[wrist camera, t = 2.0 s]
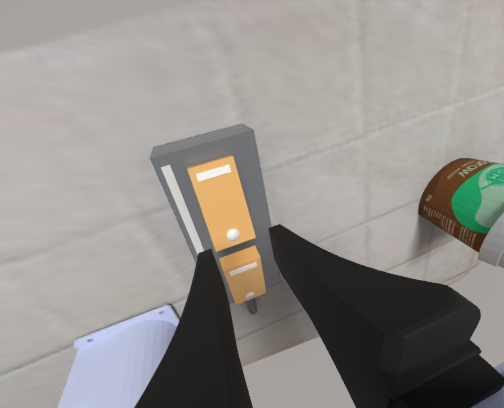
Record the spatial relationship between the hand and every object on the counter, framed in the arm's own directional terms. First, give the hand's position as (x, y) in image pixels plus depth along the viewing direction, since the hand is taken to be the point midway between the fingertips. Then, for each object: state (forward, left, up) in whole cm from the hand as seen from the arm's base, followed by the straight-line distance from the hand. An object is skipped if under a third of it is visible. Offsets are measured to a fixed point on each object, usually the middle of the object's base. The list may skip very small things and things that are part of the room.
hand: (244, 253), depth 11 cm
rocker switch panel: (0, -7, -10) cm, 12 cm away
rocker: (0, 0, -6) cm, 6 cm away
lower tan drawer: (0, -8, -6) cm, 9 cm away
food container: (+28, -8, -10) cm, 31 cm away
